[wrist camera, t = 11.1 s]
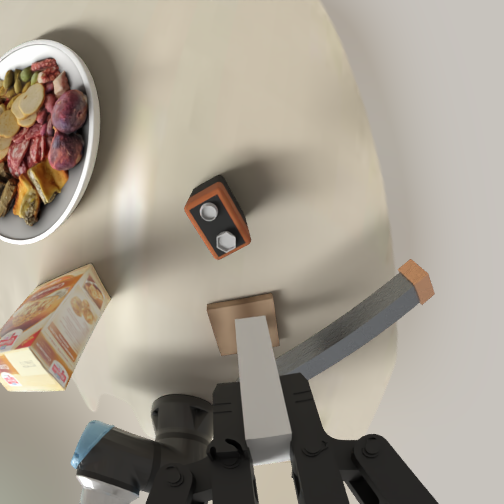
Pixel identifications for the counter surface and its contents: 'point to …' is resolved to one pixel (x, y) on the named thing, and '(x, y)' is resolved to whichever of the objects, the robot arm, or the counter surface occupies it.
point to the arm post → (228, 311)
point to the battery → (218, 217)
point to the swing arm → (359, 323)
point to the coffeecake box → (51, 331)
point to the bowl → (44, 138)
